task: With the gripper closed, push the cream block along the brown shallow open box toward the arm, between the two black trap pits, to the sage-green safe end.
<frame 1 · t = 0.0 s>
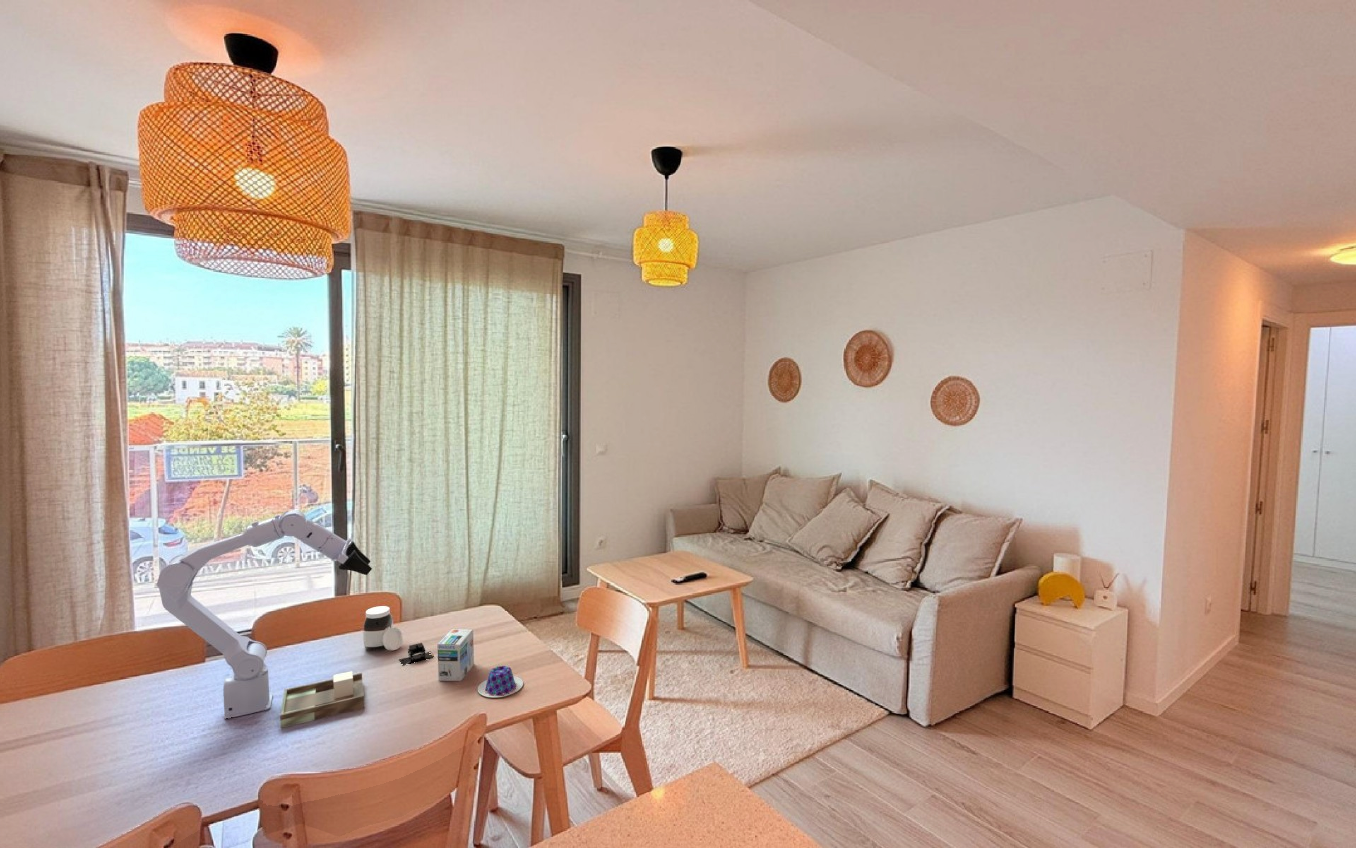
hand: (368, 568, 166), 32 cm above the table, tool tilted 50°, fingers open, 7 cm apart
cream block: (343, 692, 157), point 2 cm above the table, touching brown shallow open box
light bulb box: (456, 673, 172), on the table
spread jar: (384, 647, 189), on the table
brown shallow open box: (324, 704, 155), on the table
black piece: (417, 661, 181), on the table
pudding: (500, 689, 164), on the table
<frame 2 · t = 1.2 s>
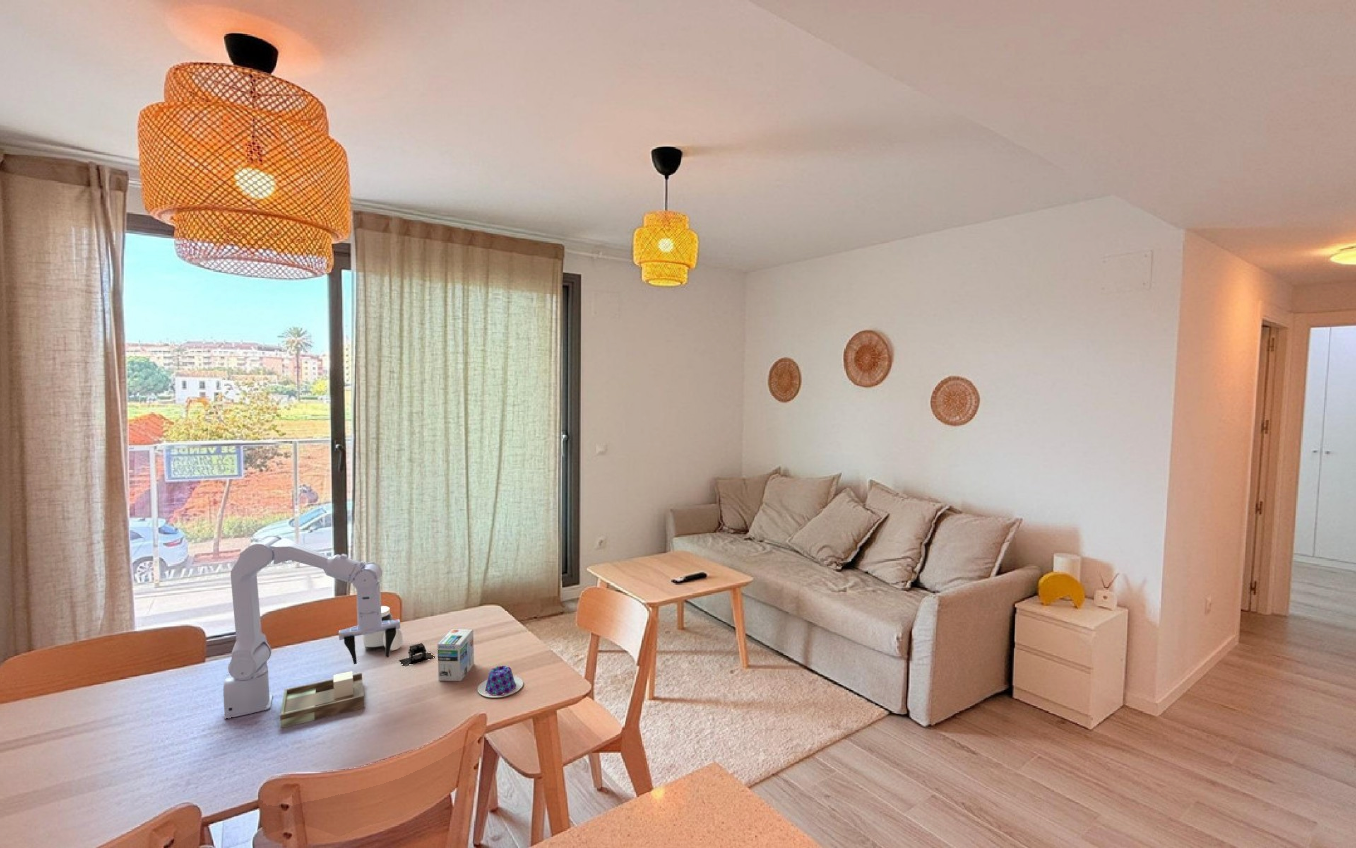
hand: (371, 659, 160), 9 cm above the table, tool pointing down, fingers open, 7 cm apart
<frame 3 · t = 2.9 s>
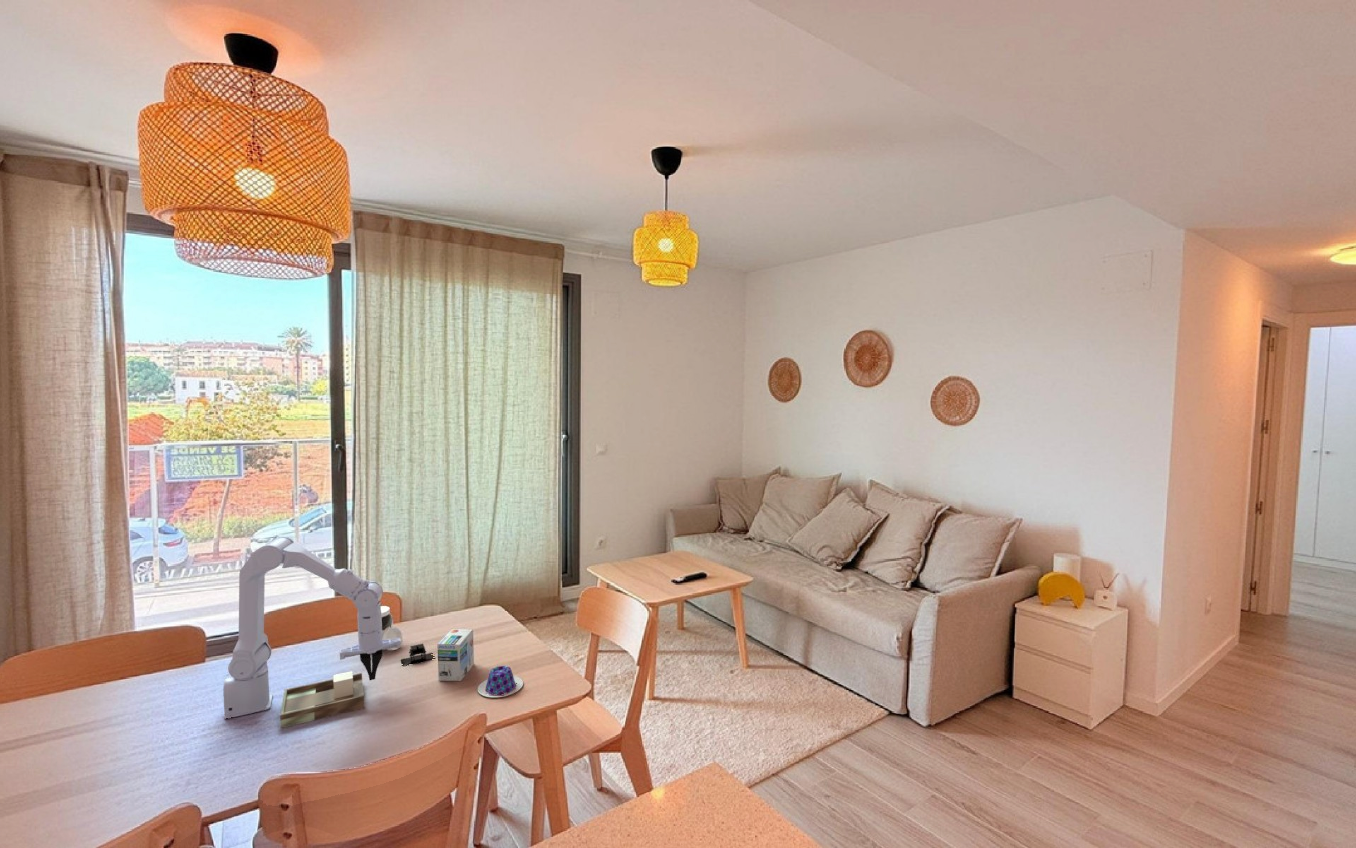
hand: (372, 678, 160), 4 cm above the table, tool pointing down, fingers closed
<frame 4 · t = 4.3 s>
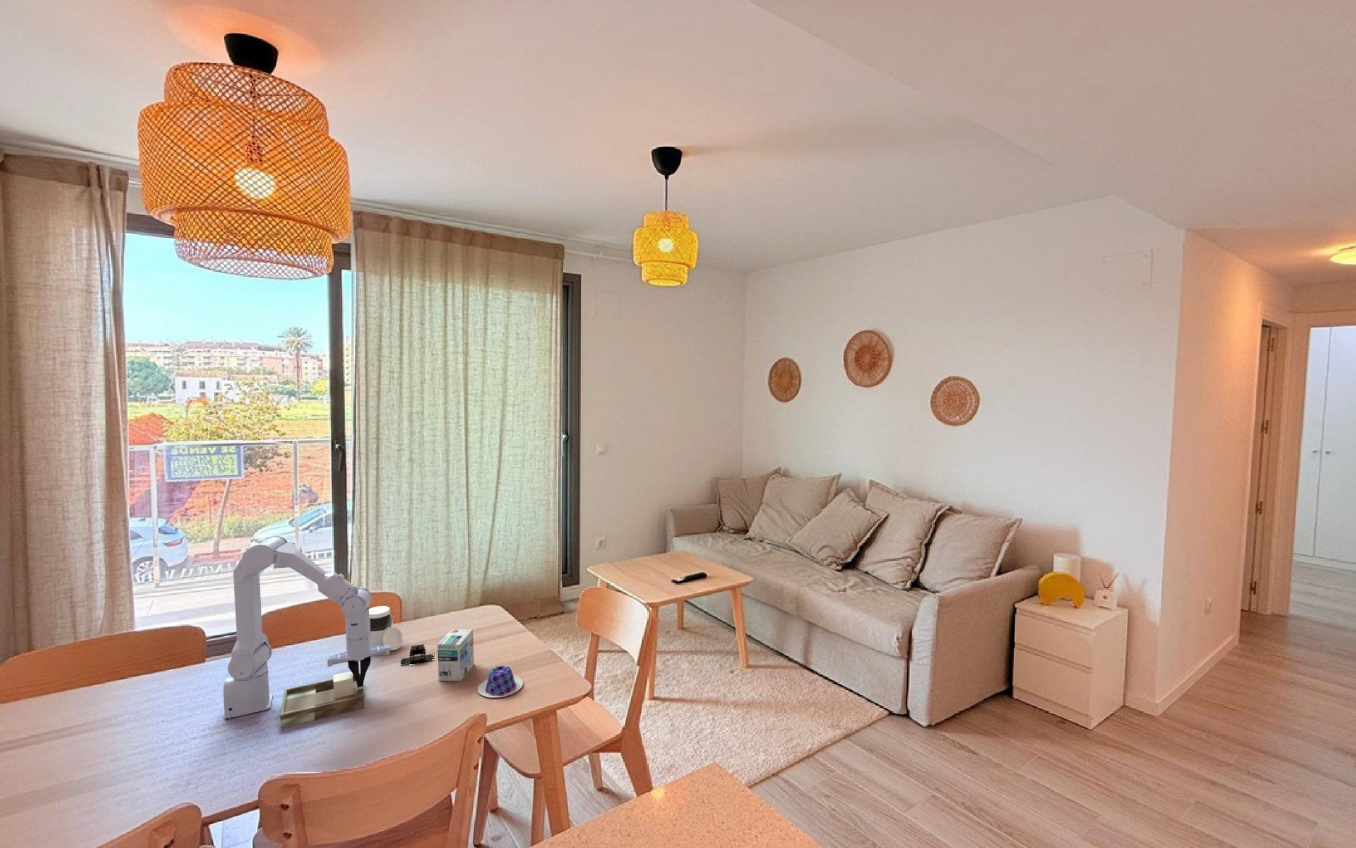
hand: (360, 685, 159), 3 cm above the table, tool pointing down, fingers closed
cream block: (343, 692, 157), point 2 cm above the table, touching gripper, brown shallow open box
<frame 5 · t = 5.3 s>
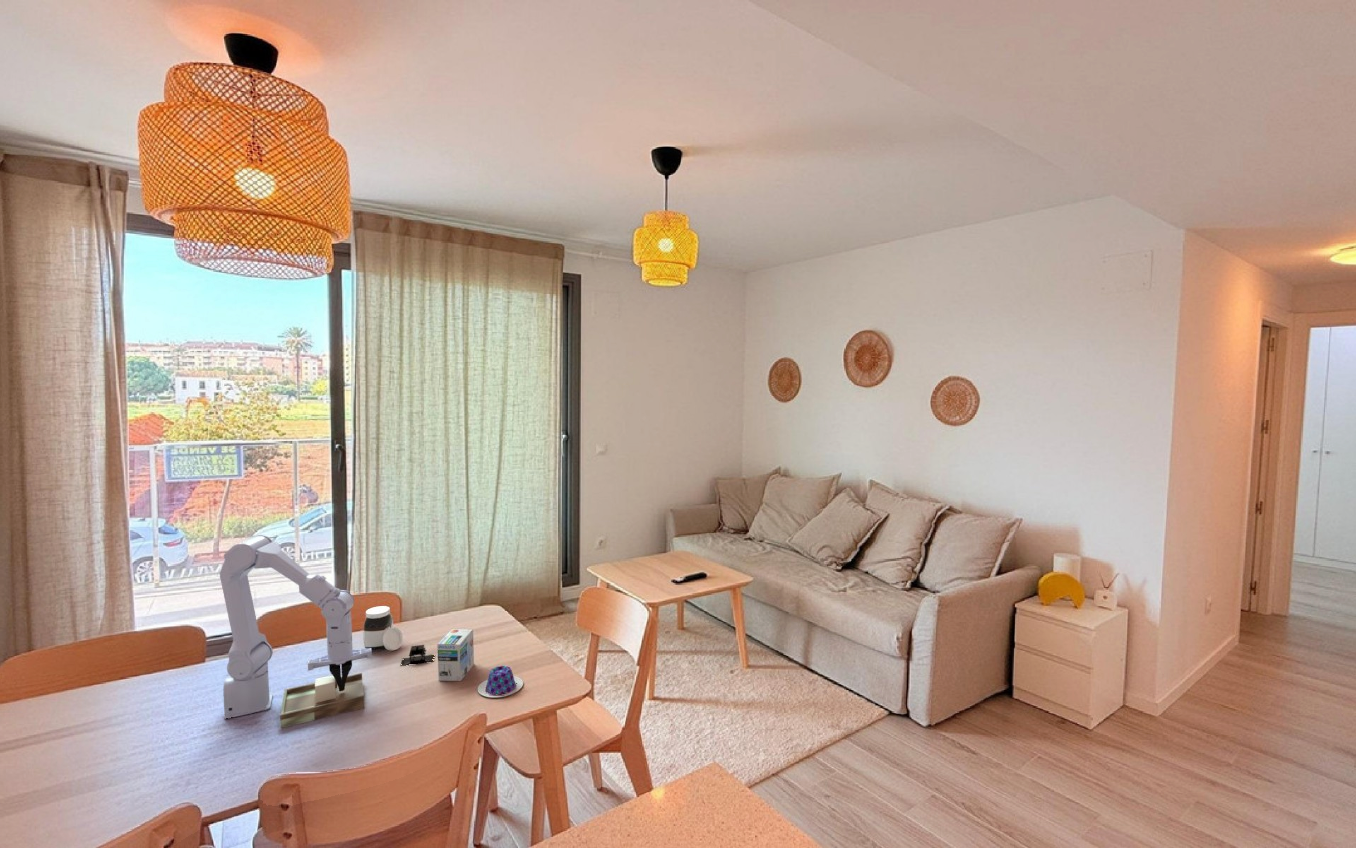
hand: (341, 689, 157), 3 cm above the table, tool pointing down, fingers closed
cream block: (325, 696, 155), point 2 cm above the table, touching gripper
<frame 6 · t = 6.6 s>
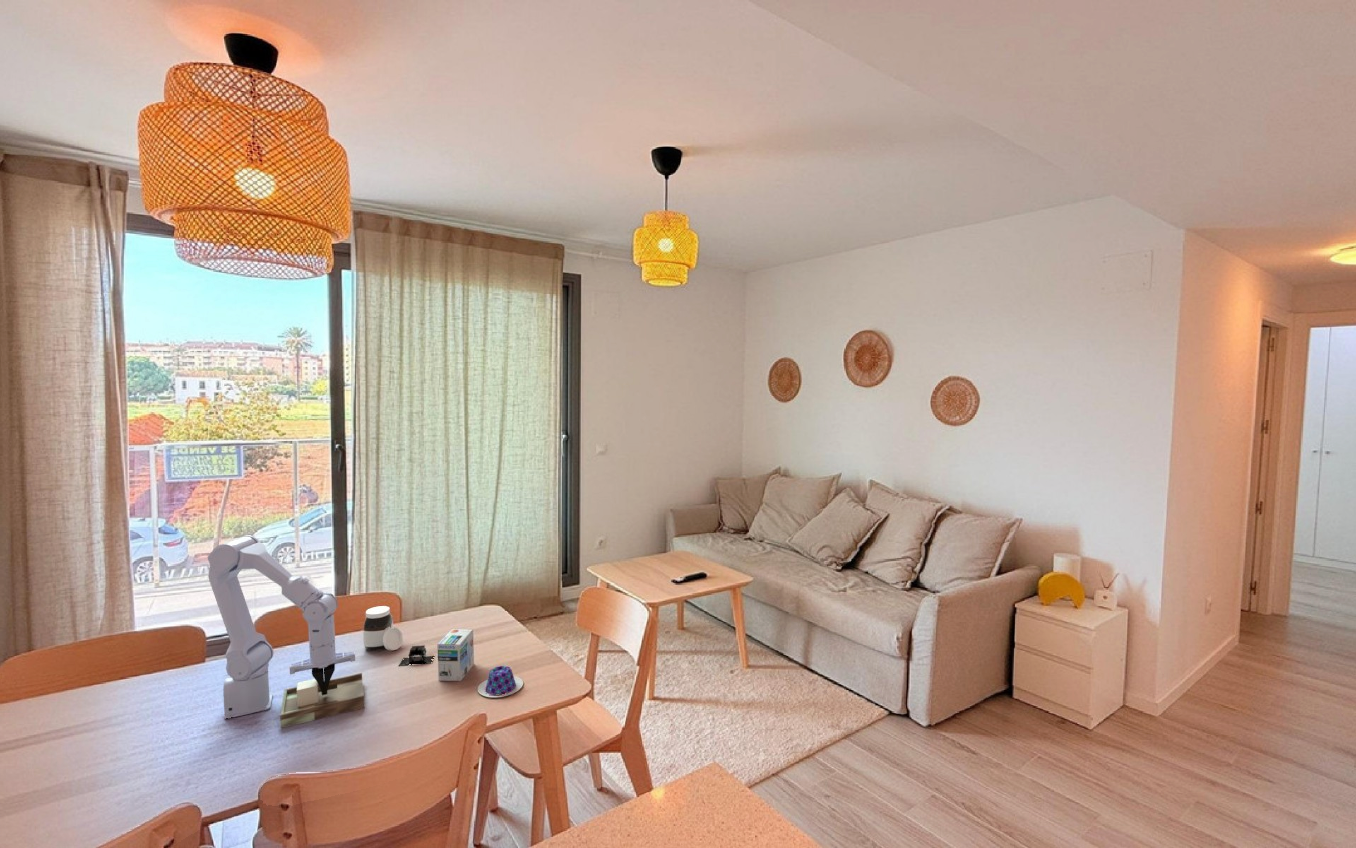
hand: (324, 693, 155), 3 cm above the table, tool pointing down, fingers closed
cream block: (308, 700, 153), point 2 cm above the table, touching gripper, brown shallow open box
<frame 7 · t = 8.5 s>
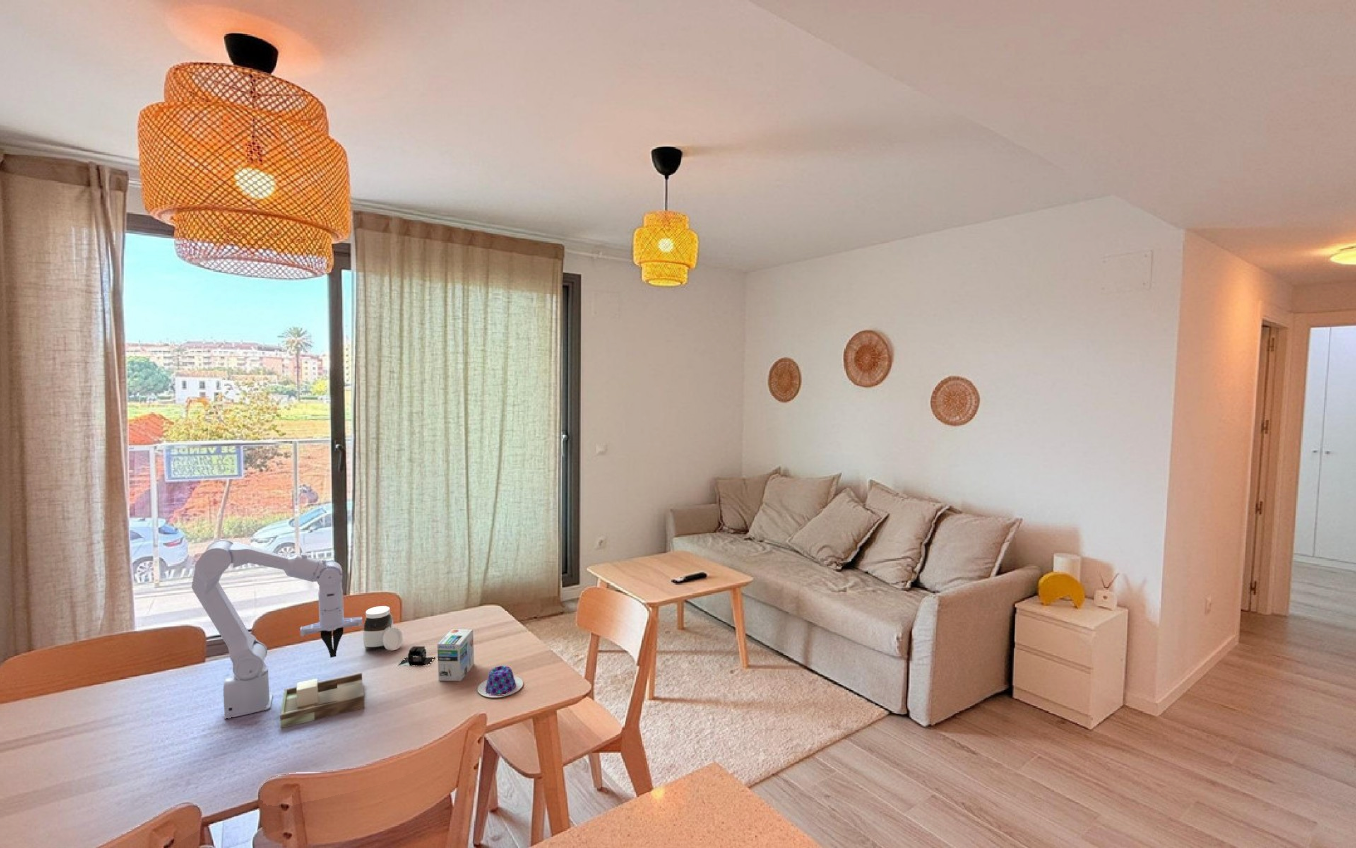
hand: (333, 655, 162), 9 cm above the table, tool pointing down, fingers closed
cream block: (307, 700, 153), point 2 cm above the table, touching brown shallow open box
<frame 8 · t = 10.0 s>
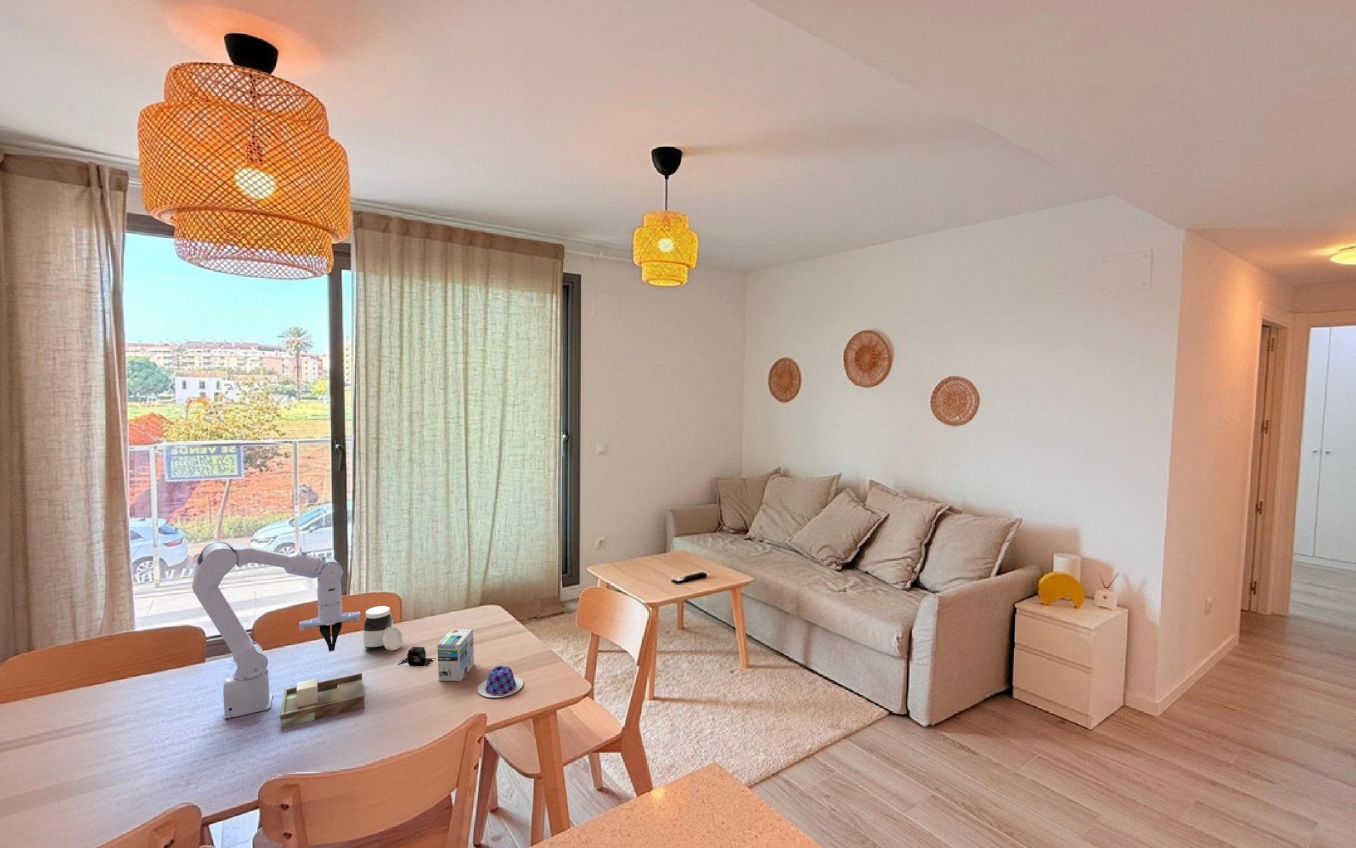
hand: (331, 649, 166), 9 cm above the table, tool pointing down, fingers closed
at the end: cream block 1.9 cm from the target spot on the brown shallow open box, point 2.0 cm above the brown shallow open box's base; cream block tilted 0° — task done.
